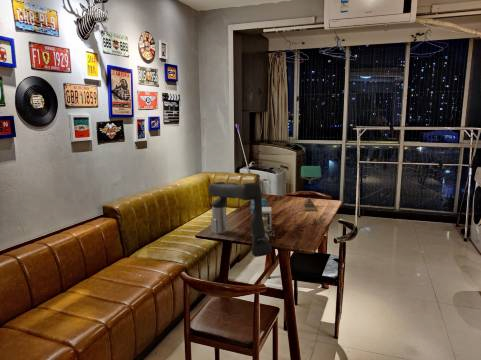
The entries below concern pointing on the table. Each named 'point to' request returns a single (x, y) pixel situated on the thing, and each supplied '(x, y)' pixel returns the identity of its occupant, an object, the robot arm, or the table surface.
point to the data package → (264, 204)
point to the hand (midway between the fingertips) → (262, 229)
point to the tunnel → (267, 210)
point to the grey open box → (268, 222)
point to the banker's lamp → (310, 172)
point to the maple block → (265, 220)
